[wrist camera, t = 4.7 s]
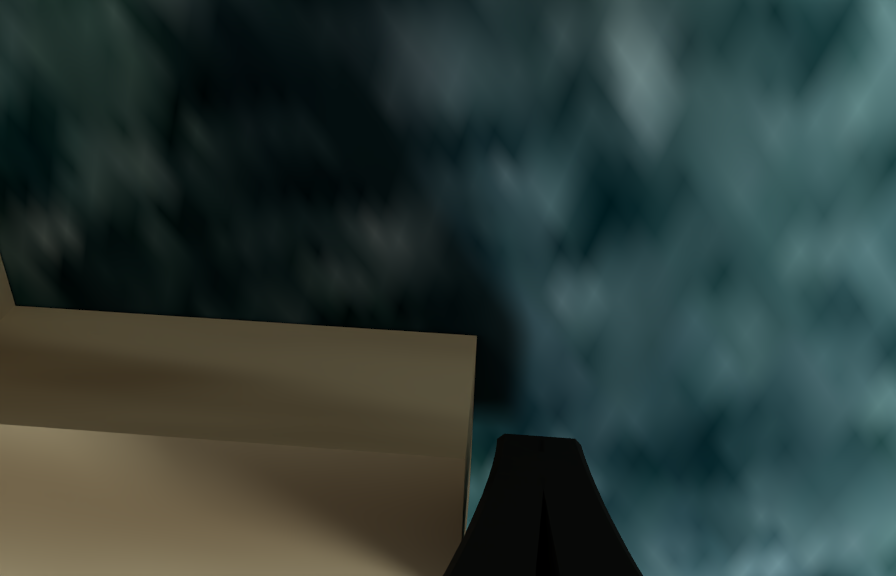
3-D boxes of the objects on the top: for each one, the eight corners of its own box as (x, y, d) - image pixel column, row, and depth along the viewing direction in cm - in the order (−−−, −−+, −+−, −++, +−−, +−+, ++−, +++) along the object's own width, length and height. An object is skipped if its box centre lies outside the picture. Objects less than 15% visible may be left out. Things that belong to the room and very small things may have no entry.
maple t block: (462, 635, 17) (451, 778, 15) (-48, 589, 18) (-145, 719, 15) (489, 82, 11) (477, 160, 9) (-283, 47, 12) (-509, 109, 9)
